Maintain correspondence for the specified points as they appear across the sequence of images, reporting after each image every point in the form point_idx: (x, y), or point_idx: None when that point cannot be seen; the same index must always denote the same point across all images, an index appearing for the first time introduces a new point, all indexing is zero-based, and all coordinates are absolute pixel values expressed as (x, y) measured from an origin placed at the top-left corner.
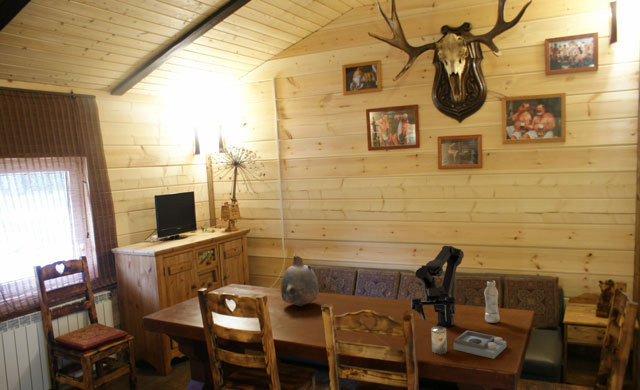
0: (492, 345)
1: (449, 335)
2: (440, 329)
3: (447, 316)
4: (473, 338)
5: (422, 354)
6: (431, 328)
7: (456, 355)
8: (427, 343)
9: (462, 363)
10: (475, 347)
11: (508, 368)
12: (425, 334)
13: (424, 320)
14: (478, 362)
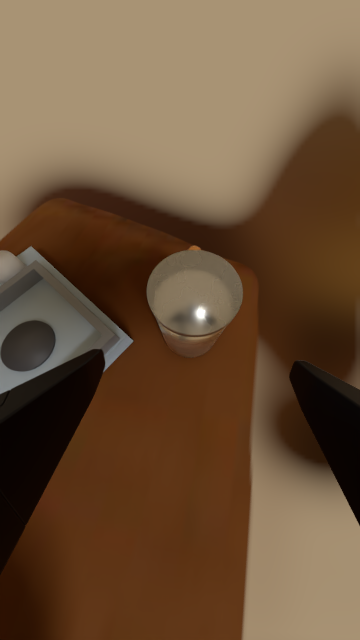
0: (6, 251)
1: (86, 525)
2: (185, 278)
3: (68, 362)
4: (15, 380)
5: (254, 312)
6: (239, 301)
7: (142, 292)
8: (221, 419)
9: (145, 243)
10: (64, 285)
11: (45, 210)
12: (213, 573)
13: (307, 366)
14: (99, 244)
